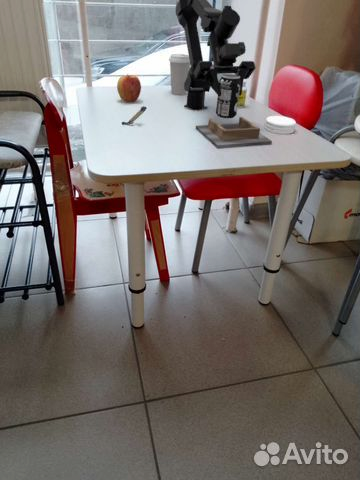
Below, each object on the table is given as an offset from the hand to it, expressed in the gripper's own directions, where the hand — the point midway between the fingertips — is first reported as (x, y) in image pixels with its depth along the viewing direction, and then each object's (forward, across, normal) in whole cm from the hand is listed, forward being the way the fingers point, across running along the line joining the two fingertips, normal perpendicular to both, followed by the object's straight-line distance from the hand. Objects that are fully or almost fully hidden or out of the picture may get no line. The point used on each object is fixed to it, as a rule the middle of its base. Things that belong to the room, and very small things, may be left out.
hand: (230, 95), depth 110 cm
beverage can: (+4, 0, +6) cm, 7 cm away
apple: (-20, -24, +37) cm, 48 cm away
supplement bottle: (-11, +18, +28) cm, 35 cm away
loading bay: (+11, 0, +4) cm, 12 cm away
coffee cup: (-27, 0, +44) cm, 52 cm away
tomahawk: (-6, -24, +23) cm, 34 cm away
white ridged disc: (+9, +19, +7) cm, 23 cm away
